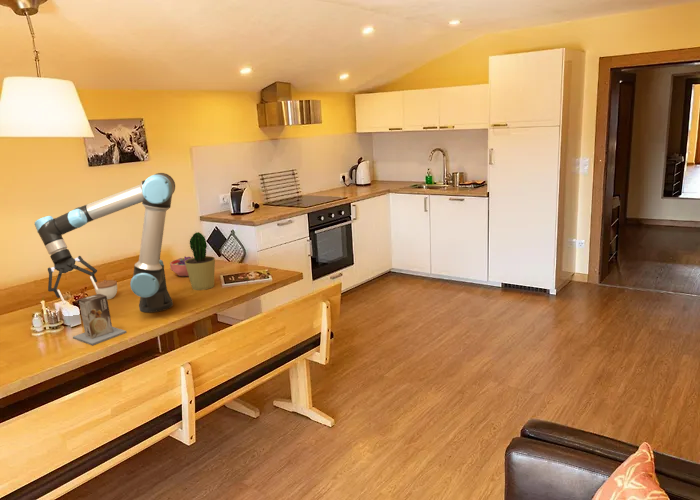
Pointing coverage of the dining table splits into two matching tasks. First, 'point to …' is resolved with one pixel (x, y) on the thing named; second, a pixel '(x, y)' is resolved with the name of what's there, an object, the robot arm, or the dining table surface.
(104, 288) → the lidded jar
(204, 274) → the potted cactus
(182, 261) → the cell model
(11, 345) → the dining table surface
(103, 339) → the mat
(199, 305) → the dining table surface
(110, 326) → the coffee box
